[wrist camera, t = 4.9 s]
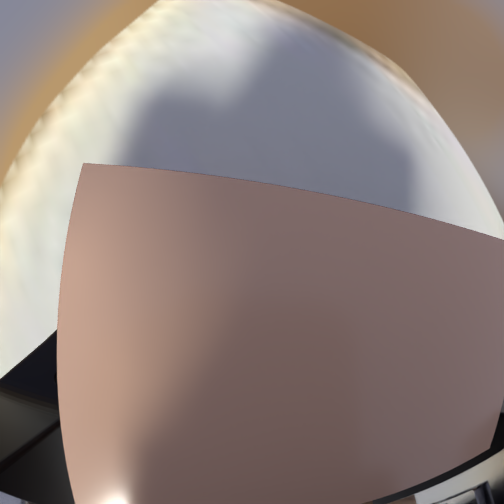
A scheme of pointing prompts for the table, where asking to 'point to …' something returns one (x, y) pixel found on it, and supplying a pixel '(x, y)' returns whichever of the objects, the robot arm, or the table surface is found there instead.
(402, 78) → the table surface
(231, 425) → the pinkish tan block
